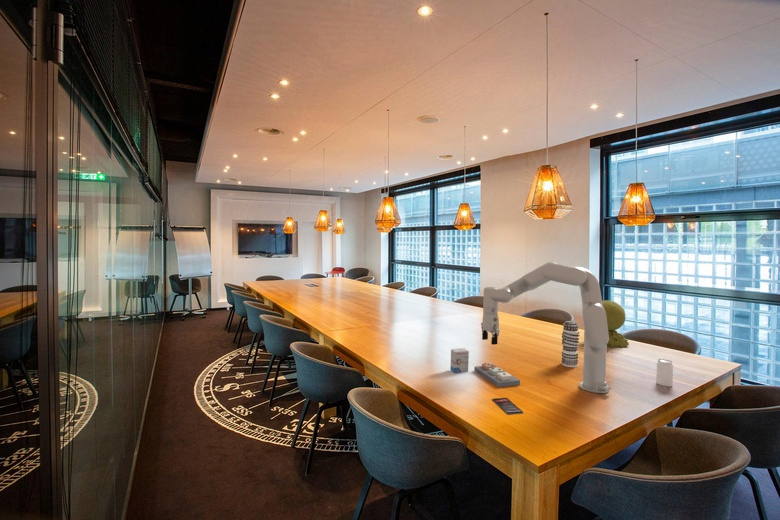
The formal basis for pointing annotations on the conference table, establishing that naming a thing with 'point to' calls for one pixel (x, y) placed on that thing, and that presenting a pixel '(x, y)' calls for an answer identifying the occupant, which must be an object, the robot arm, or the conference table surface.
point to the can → (664, 373)
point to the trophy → (615, 323)
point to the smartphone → (507, 406)
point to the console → (496, 380)
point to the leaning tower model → (570, 344)
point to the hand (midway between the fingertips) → (489, 341)
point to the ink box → (459, 360)
